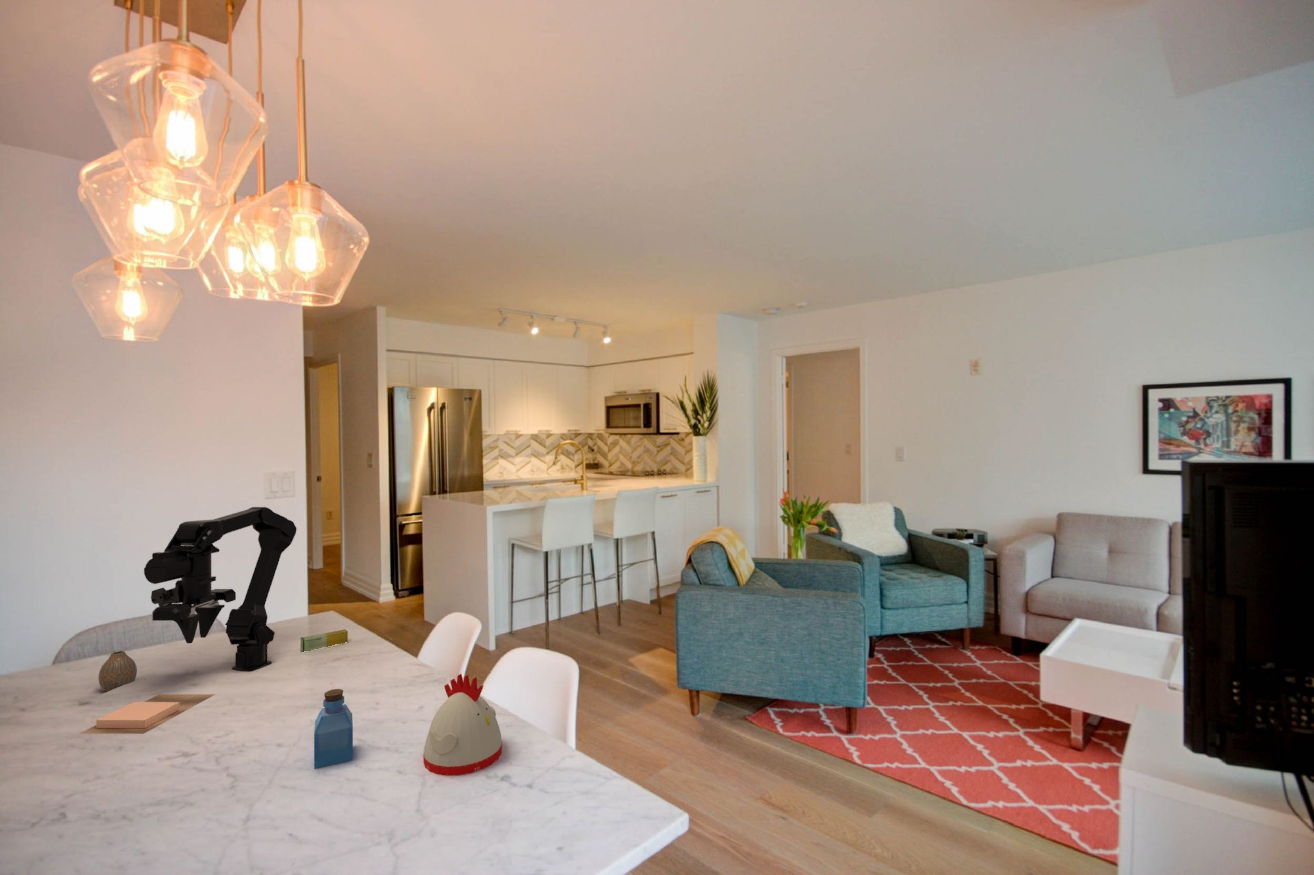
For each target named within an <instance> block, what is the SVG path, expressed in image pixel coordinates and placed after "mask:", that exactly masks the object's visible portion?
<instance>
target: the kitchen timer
mask: <svg viewBox="0 0 1314 875" xmlns="http://www.w3.org/2000/svg"><path fill="white" fill-rule="evenodd" d="M483 689H484V684H482V685H480V686H479V687H478V679H477V676H475V677H474V678H472V679H471V683H470V678H469V674H467V675H464V677H463V675H462V673H460V674H458V675H457V677H456V679H455V678H453V679H451V680H450V684H449V683H446V684H444V691H445V693H446V696H447V699H445V701H444V702H443V703H441V705H440V706H439V708H438V710H437V711H436V713H435V714H434V716H433V718H432V720H431V723H430V726H429V730H428V733H427V735H426V738H425V743H424V746H423V755H422V757H423V766H424V768H425V769H426V770H427V771H428V772H430V773H431V774H434V775H437V776H438V775H439V776H445V777H447V776H448V777H449V776H450V777H451V776H462V775H468V774H473V773H475V772H478V771H482V770H484V769H485V768H489V767H490V766H491V765H493V764H494V763H495V762H496V761H498V760H499V758H500V757H501V755H502V751H503V742H502V741H503V740H502V732H501V729H500V726H499V724H498V720H497V718H496V715H497V713H496V709H495V708H494V707H493V706H491V705H489V703H488V702H487V701H486V700H485V698H483V697H482V696H481V693H482V692H483Z"/></svg>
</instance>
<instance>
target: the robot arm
mask: <svg viewBox="0 0 1314 875" xmlns="http://www.w3.org/2000/svg"><path fill="white" fill-rule="evenodd" d="M251 526H252V529H253V530H255V531H256V532H257V533H258V538H257V541H258V544H259V548H260V552H259V555H258V558H257V560H256V564H255V567H254V570H253V573H252V575H251V579H250V582H249V585H248V588H247V590H246V593H245V597H244V599H243V602H242V604H241V605H239V607H238V608H231V610H230V611H229V615H228V619H227V621H226V623H225V624H224V626H226V627H225V633H226V634H227V637H228V640H229V642H230V645H231V646H232V645H234V646H235V645H236V652H235V659H234V660H235V662H234V663H235V665H233V666H232V667H231V668H232V670H237V671H246V672H252V671H255V670H257V669H260V668H262V667H265V666H269V665H270V664H272V663H273V661H272V660H268V644H270V643H271V642H273V640H274V638H275V633H276V632H275V631H274V630H273V629H272V628H270V627H269V626H268V625H267V622H268V617H269V616H268V613H267V611H266V607H265V606H266V603H267V600H268V596H269V593H270V590H271V587H272V584H273V581H274V578H275V574H276V572H277V569H278V566H279V562H280V559H281V556H282V553H284V552H285V550H287V549H288V548H289V547H290V545H291V544H292V542H294V539H295V536H296V534H297V526H296V524H295V523H294V521H292V520H290V519H288V518H287V517H285V516H283V515H280V514H279V513H277V512H275V511H273V510H272V509H271V508H269V507H266V506H251V507H249V508H248V509H247V508H246V509H245V510H242V511H237V512H235V513H231V514H228V515H224V516H220V517H217V518H213V519H203V520H199V519H198V520H190V521H188V520H187V521H183V522H181V523H180V524H179V525H178V528H176V529H177V530H176V531H175V533H174V535H173V536H172V538H171V539H170V541H169V542H168V544H167V546H166V547H165V549H164V550H163V552H162V551H161V552H160V551H156V552H153V553H152V554H151V559H149V560H148V561H147V562H146V564H145V566H144V569H143V574H144V577H145V579H146V580H147V581H148V583H151V584H153V585H157V584H161V583H166V582H171V581H175V580H177V581H176V582H175V586H174V587H173V588H170V589H169V588H168V589H166V588H165V587H160V588H156V589H153V590H151V595H150V600H151V603H152V604H153V605H158V606H157V607H155V608H154V609H153V610H152V612H151V614H152V615H151V616H152V618H151V620H152V622H154V621H156V622H157V621H158V622H159V621H167V622H168V621H170V622H172V621H173V622H175V623H176V624H177V626H178V627H179V630H180V632H181V633H182V635H183V637H184V640H185V642H186V644H192V643H193V642H194V640H195V638H196V632H197V630H198V628H199V635H200V638H201V639H203V638H204V639H205V638H207V637H208V634H209V632H210V630H211V628H212V627H213V625H214V623H215V621H216V620H217V617H218V616H219V614H220V613H221V611H222V610H223V608H225V606H226V605H225V604H220V602H219V601H224V602H225V603H231V602H234V601H236V597H237V594H236V591H235V590H234V589H233V588H214V589H212V582H216V581H217V576H216V575H215V576H212V554H216V553H219V552H220V548H219V547H217V546H215V545H214V543H216V542H217V541H220V540H221V539H222V537H223V536H224V535H225V536H226V535H227V534H229V533H232V532H233V533H234V532H235V531H236V532H237V531H238V530H242V529H245V528H248V527H251ZM197 627H198V628H197Z"/></svg>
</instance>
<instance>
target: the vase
mask: <svg viewBox="0 0 1314 875" xmlns="http://www.w3.org/2000/svg"><path fill="white" fill-rule="evenodd" d="M98 672H99V673H98V683H99V684H98V685H99V686H100V687H101V689H102V690H103V691H105V692H107V693H108V692H111V691H112V690H115V689H117V688H119V687H121V686H125V685H129V684H131V683H133V682H135V680H136V678H137V672H138V668H137V664H136V662H135V661H134V659H133V658H132V657H131V656H129V655H128V654H127V653H126V651H125V650H118V651H113V652H111V653H110V656H109V657H108V658H107V659H106V661H104V663H103V665H101V668H100V669H99V671H98Z"/></svg>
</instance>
